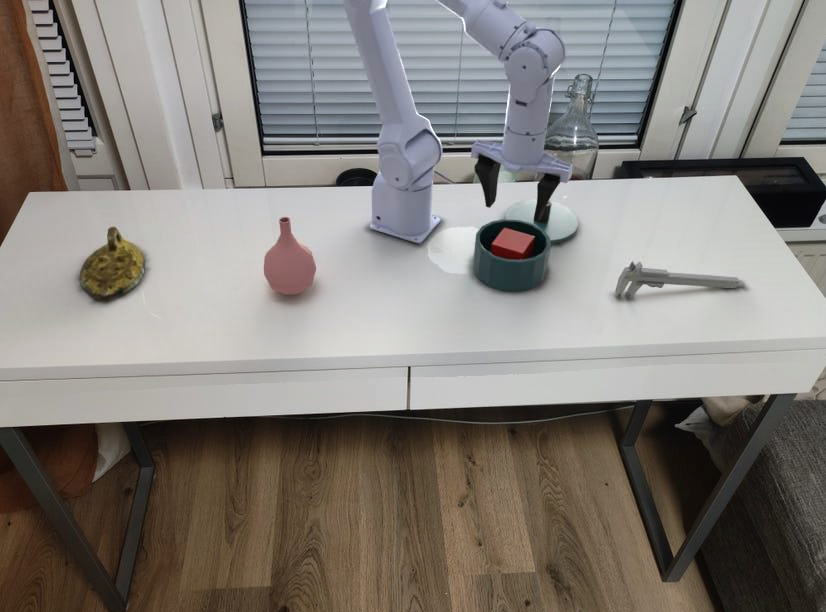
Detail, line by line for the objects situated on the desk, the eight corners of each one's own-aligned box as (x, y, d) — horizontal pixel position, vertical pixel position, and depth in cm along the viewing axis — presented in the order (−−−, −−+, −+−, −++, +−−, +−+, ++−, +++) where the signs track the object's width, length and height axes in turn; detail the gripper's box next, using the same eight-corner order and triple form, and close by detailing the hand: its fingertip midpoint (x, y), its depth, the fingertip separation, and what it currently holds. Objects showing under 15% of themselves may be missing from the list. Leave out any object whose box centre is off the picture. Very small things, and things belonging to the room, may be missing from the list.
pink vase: (264, 274, 116) (255, 207, 108) (314, 269, 117) (308, 202, 109) (268, 306, 111) (258, 238, 102) (320, 300, 112) (314, 232, 103)
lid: (492, 233, 125) (495, 210, 122) (519, 198, 133) (522, 176, 130) (563, 254, 121) (567, 231, 118) (587, 216, 129) (591, 194, 126)
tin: (461, 278, 116) (463, 248, 112) (489, 240, 123) (493, 212, 119) (530, 300, 112) (535, 270, 109) (555, 260, 120) (560, 231, 116)
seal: (142, 305, 112) (148, 246, 123) (138, 280, 109) (145, 221, 119) (74, 306, 110) (87, 245, 121) (69, 280, 107) (82, 220, 118)
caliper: (616, 300, 113) (625, 266, 108) (613, 295, 113) (622, 261, 109) (744, 288, 115) (758, 254, 111) (741, 283, 116) (754, 250, 112)
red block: (488, 270, 117) (491, 243, 113) (500, 253, 120) (504, 227, 116) (518, 280, 115) (522, 253, 112) (530, 262, 118) (534, 236, 115)
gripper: (465, 125, 103) (458, 210, 112) (566, 151, 98) (551, 238, 108) (486, 104, 108) (477, 188, 117) (584, 128, 103) (567, 214, 112)
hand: (514, 211), depth 113 cm, fingers open, 7 cm apart
